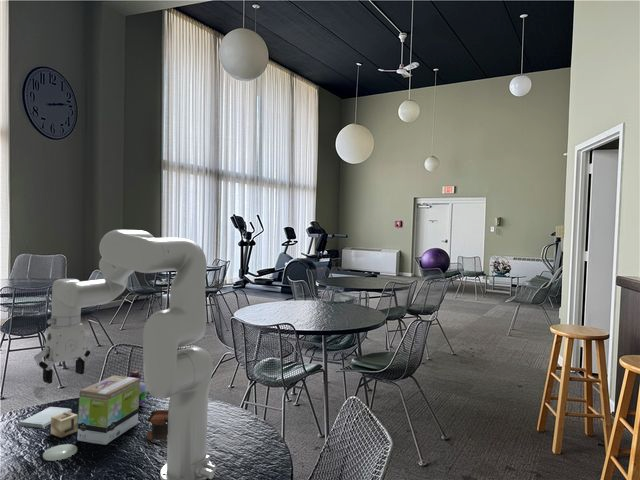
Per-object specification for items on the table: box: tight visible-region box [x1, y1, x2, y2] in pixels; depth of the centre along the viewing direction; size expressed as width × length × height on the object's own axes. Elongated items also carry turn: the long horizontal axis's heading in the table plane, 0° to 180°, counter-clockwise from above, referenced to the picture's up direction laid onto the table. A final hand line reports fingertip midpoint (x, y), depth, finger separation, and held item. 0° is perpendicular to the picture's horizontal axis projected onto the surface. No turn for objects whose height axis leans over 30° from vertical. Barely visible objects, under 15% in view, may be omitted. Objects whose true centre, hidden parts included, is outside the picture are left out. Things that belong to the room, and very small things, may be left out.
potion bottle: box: [127, 370, 148, 407], centre depth 153 cm, size 9×9×12 cm
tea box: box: [76, 375, 141, 446], centre depth 133 cm, size 15×10×15 cm, turn 168°
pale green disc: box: [42, 443, 78, 462], centre depth 120 cm, size 8×8×1 cm
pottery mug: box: [146, 409, 168, 441], centre depth 133 cm, size 12×10×8 cm
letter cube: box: [50, 411, 79, 439], centre depth 132 cm, size 5×5×5 cm
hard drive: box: [18, 406, 73, 429], centre depth 141 cm, size 2×8×12 cm
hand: (64, 377), depth 132 cm, fingers open, 9 cm apart
